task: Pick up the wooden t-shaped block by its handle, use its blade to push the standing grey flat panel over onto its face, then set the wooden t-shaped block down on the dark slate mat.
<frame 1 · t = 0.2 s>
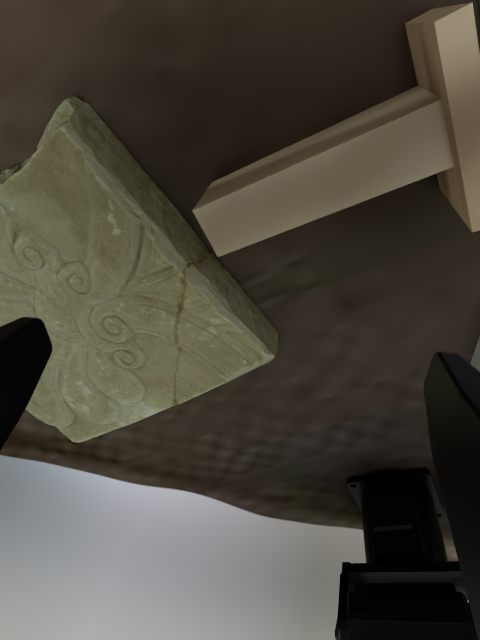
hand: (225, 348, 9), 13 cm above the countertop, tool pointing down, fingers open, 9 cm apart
wooden t-shaped block: (313, 163, 19), on the countertop
decorative tile: (84, 294, 27), on the countertop
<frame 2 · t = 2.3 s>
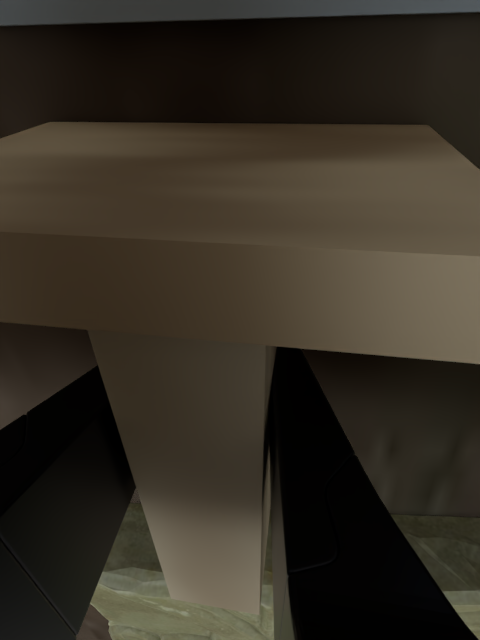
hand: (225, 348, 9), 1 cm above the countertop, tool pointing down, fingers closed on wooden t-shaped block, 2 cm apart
wooden t-shaped block: (234, 366, 11), on the countertop, touching gripper
decorative tile: (282, 596, 21), on the countertop
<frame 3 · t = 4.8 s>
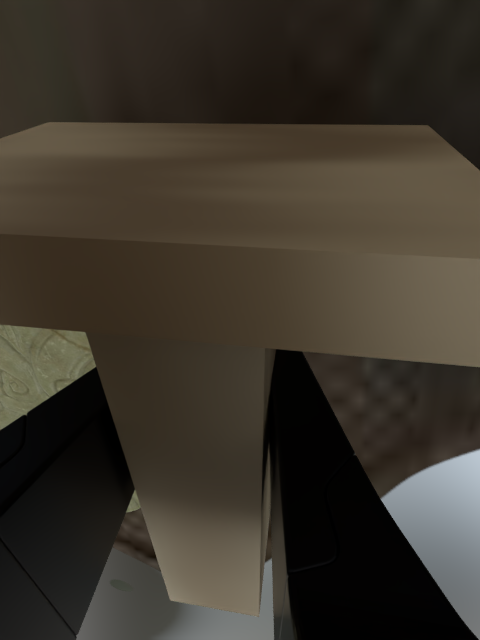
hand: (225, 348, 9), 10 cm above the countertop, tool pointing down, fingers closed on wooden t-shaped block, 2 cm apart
wooden t-shaped block: (234, 367, 11), point 9 cm above the countertop, touching gripper
decorative tile: (89, 386, 27), on the countertop
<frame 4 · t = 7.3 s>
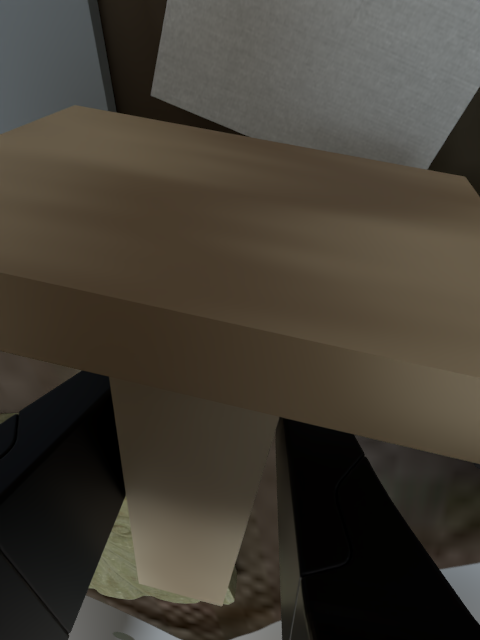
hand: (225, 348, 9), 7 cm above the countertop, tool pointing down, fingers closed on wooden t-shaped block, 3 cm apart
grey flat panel: (283, 141, 11), point 2 cm above the countertop
wooden t-shaped block: (228, 370, 11), point 6 cm above the countertop, touching gripper
decorative tile: (100, 493, 30), on the countertop
when the fingers open (3 cm above the countertop, at t = 11.9 s): wooden t-shaped block drops 1 cm, resting on tool mat.
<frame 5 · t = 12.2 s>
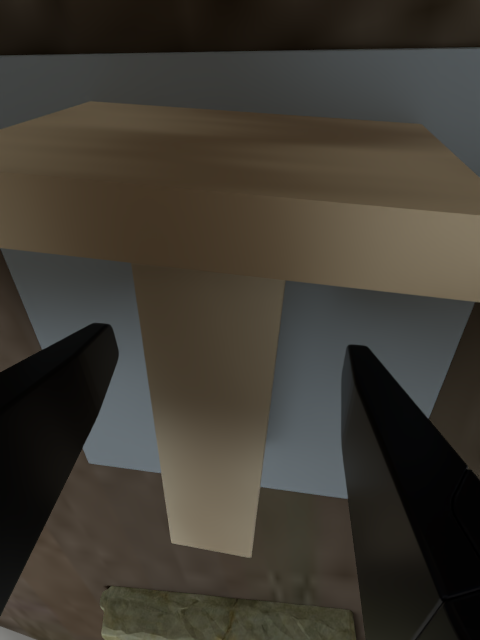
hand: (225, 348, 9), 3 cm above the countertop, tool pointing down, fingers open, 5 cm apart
tool mat: (229, 334, 13), on the countertop
wooden t-shaped block: (238, 335, 12), point 1 cm above the countertop, touching tool mat
decorative tile: (238, 636, 32), on the countertop
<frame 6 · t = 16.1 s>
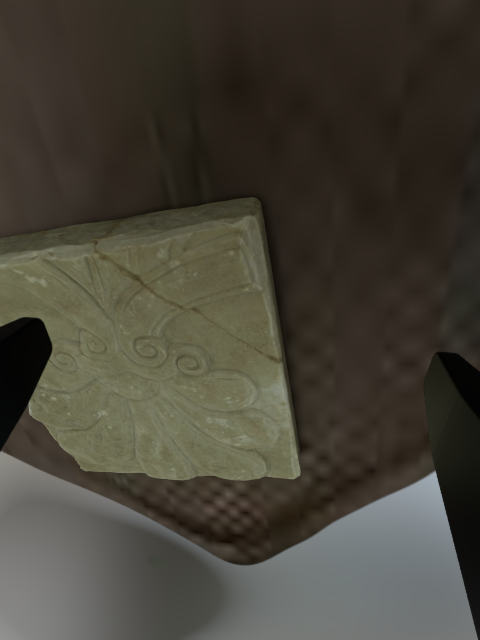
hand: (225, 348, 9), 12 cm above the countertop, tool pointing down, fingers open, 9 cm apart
decorative tile: (154, 352, 27), on the countertop
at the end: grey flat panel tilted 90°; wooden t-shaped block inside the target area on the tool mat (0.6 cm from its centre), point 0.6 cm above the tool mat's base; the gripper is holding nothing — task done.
